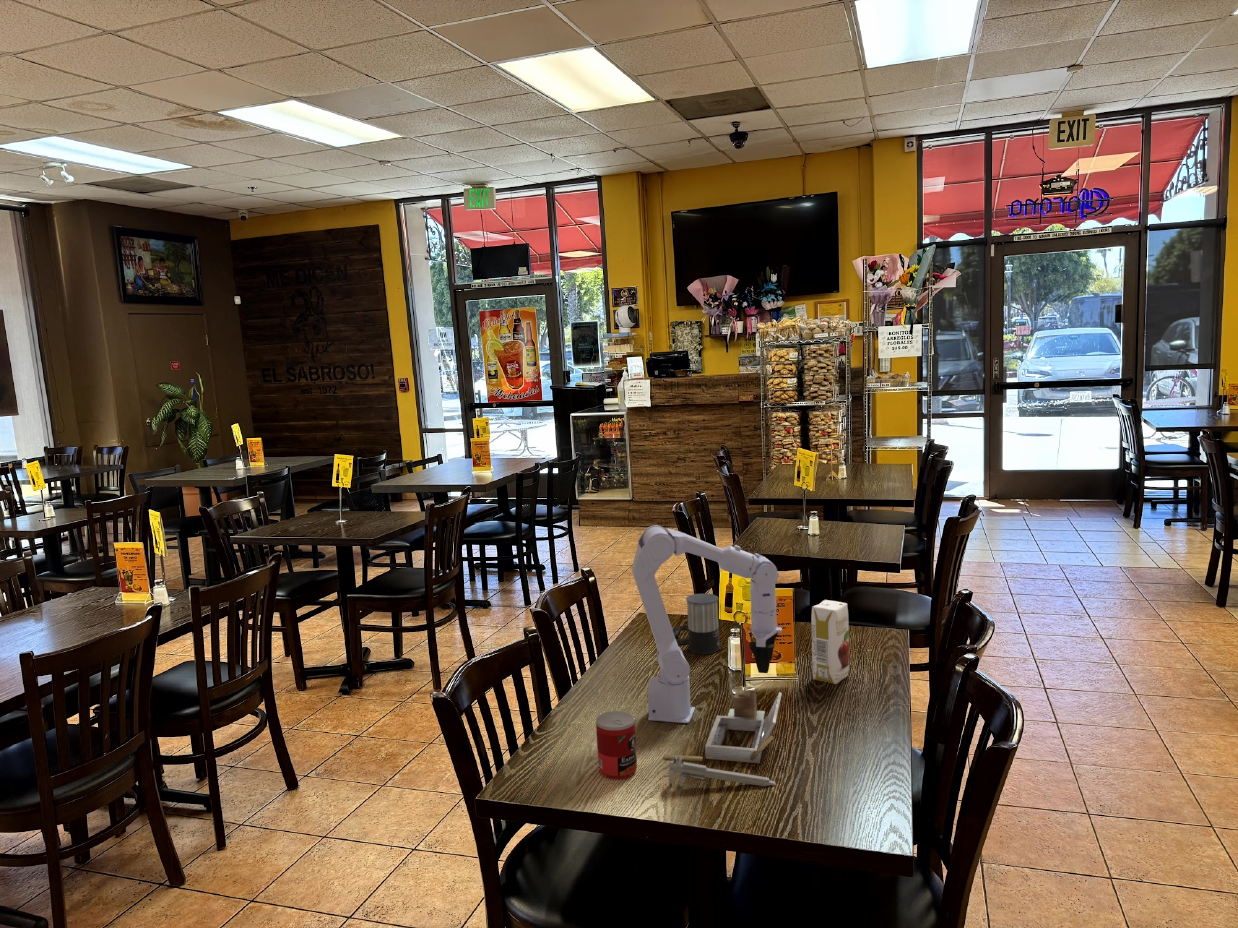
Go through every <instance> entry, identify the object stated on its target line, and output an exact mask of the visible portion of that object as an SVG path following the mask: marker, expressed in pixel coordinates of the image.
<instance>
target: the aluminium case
mask: <svg viewBox="0 0 1238 928" xmlns="http://www.w3.org/2000/svg"><path fill="white" fill-rule="evenodd" d="M764 720H765V718H763V719H760V718H746V717H733V716H728V715H718V714H717V715H716V717H715V720H714V722H713V726H712V728H711V730H710V732H709V736H708V738H707V741H706V744H705V745H704V749H705V750H704V751H705V752H704V753H705V759H708V760H717V761H718V760H720V761H728V762H729V761H731V762H738V763H741V762H742V763H751V764H753V763H754V764H760V763H761V758H762V754H763V750H764V749H763V750H762V751H761V752H760V753H759V755H758V756H757V757H756V758H755V759H754V760H753V761H752V760H751V759H750V757H751V756H752V755H753V754H754V753H755V752H756V750H757V748H758V744H759V740H760V736H761V732H762V728H763V724H764ZM727 730H732V731H733V730H734V731H746V732H754V736H753V740H752V743H751V747H741V746H730V745H722V743H723V741H724V738H725V736H726V735H725V734H726V732H727Z"/></svg>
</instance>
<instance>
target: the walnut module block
mask: <svg viewBox="0 0 1238 928" xmlns="http://www.w3.org/2000/svg"><path fill="white" fill-rule="evenodd" d="M757 702H758V701H757V690H751V689H750V690H746V689H736V690H735V693H734V696H733V709H734V717H746V718H756V715H757V711H758V707H757V706H758V705H757V704H758V703H757Z"/></svg>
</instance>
